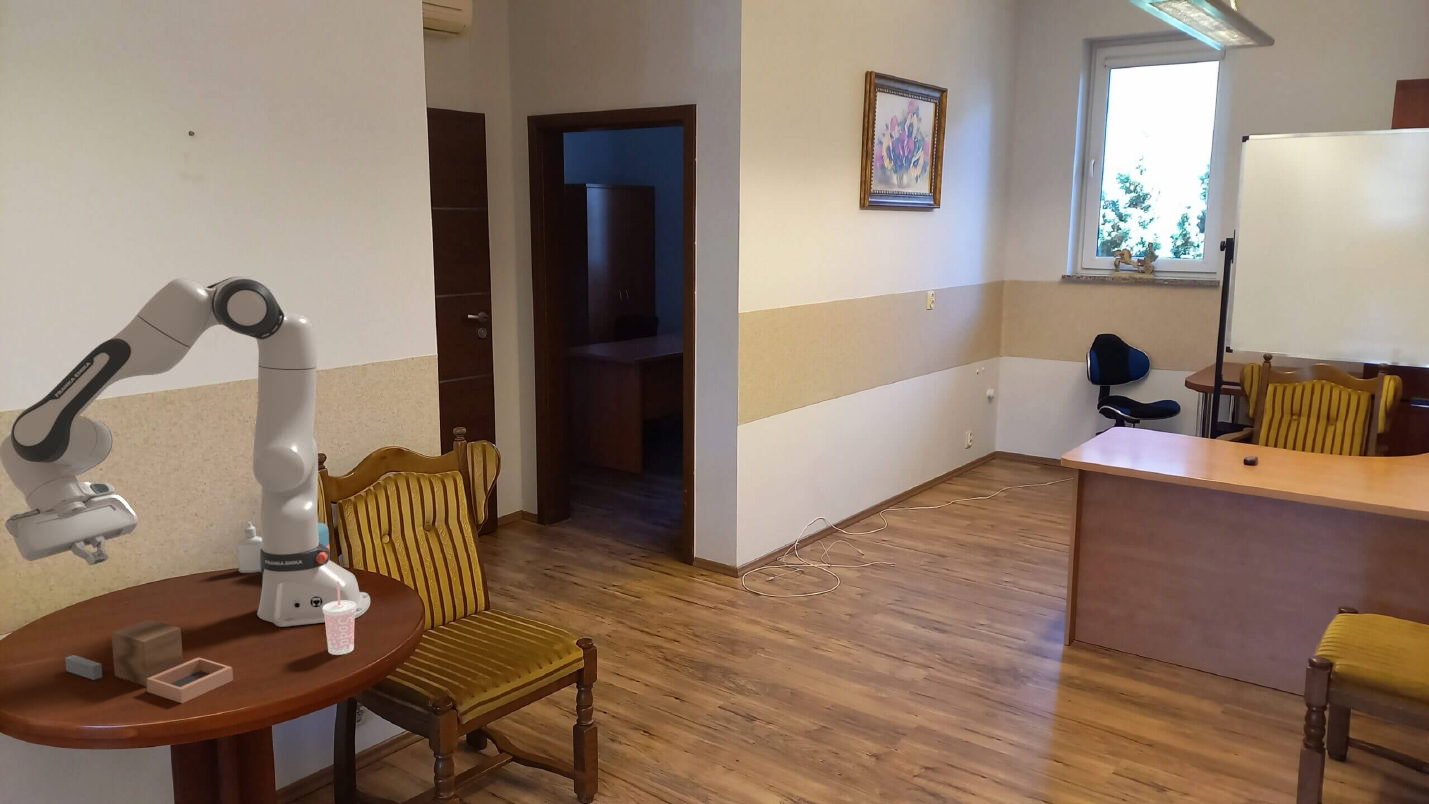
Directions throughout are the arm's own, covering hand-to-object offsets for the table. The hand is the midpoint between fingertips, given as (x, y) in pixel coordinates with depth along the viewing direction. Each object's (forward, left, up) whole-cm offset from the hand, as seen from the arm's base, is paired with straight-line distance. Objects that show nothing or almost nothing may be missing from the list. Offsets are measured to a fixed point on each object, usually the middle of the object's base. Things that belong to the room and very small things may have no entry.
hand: (99, 561), depth 179 cm
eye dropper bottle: (-12, -48, -19) cm, 54 cm away
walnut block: (-10, +7, -19) cm, 23 cm away
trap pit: (-19, +14, -19) cm, 30 cm away
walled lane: (-2, +2, -19) cm, 19 cm away
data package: (-24, -46, -19) cm, 56 cm away
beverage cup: (-42, +1, -19) cm, 46 cm away
